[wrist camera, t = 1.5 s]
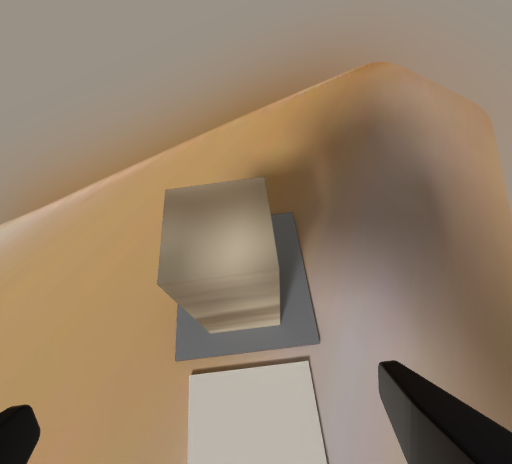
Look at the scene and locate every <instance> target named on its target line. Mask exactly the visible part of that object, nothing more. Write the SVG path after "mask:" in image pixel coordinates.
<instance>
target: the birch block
mask: <svg viewBox="0 0 512 464" xmlns="http://www.w3.org/2000/svg"><path fill="white" fill-rule="evenodd" d="M157 285H158V286H159V287H160V288H161V289H163V290H164V291H165V292H166V293H167V294H168V295H169V296H170V297H171V298H172V299H173V300H175V301H176V302H177V303H178V304H179V305H180V306H181V307H182V308H183V309H184V310H185V311H187V312H188V313H189V314H190V315H191V316H192V317H193V318H194V319H195V320H196V321H197V322H199V323H200V324H201V325H202V326H203V327H204V328H205V329H206V330H207V331H208V332H209V333H210V334H212V333H220V332H228V331H236V330H244V329H253V328H261V327H269V326H277V325H280V282H279V264H278V258H277V252H276V245H275V239H274V233H273V226H272V220H271V214H270V207H269V201H268V195H267V188H266V182H265V177H258V178H250V179H243V180H235V181H228V182H220V183H213V184H205V185H197V186H190V187H182V188H175V189H167V190H165V199H164V211H163V222H162V234H161V246H160V257H159V269H158V280H157Z"/></svg>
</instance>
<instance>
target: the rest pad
mask: <svg viewBox="0 0 512 464" xmlns="http://www.w3.org/2000/svg"><path fill="white" fill-rule="evenodd" d="M188 464H327V461H326V455H325V450H324V444H323V439H322V433H321V428H320V422H319V417H318V411H317V406H316V400H315V395H314V389H313V384H312V379H311V373H310V368H309V362H308V361H303V362H295V363H286V364H278V365H270V366H262V367H254V368H245V369H237V370H229V371H221V372H213V373H204V374H196V375H189V414H188Z"/></svg>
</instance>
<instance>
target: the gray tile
mask: <svg viewBox="0 0 512 464" xmlns="http://www.w3.org/2000/svg"><path fill="white" fill-rule="evenodd" d="M271 220H272V226H273V233H274V239H275V245H276V252H277V258H278V264H279V282H280V325H277V326H269V327H261V328H253V329H244V330H236V331H228V332H220V333H212V334H210V333H209V332H208V331H207V330H206V329H205V328H204V327H203V326H202V325H201V324H200V323H199V322H197V321H196V320H195V319H194V318H193V317H192V316H191V315H190V314H189V313H188V312H187V311H185V310H184V309H183V308H182V307H181V306H180V305H179V304H178V309H177V331H176V354H175V361H184V360H192V359H200V358H208V357H216V356H224V355H232V354H241V353H249V352H257V351H265V350H273V349H281V348H290V347H298V346H306V345H314V344H320V341H319V336H318V332H317V327H316V322H315V317H314V313H313V308H312V303H311V298H310V293H309V289H308V284H307V279H306V274H305V270H304V265H303V260H302V255H301V250H300V246H299V241H298V236H297V231H296V226H295V222H294V217H293V212H290V213H282V214H274V215H271Z"/></svg>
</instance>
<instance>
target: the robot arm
mask: <svg viewBox="0 0 512 464" xmlns="http://www.w3.org/2000/svg"><path fill="white" fill-rule="evenodd" d="M378 379H379V393H380V397H381V400H382V402H383V405H384V407H385V410H386V412H387V415H388V417H389V419H390V422H391V424H392V427H393V429H394V432H395V434H396V436H397V439H398V441H399V444H400V446H401V449H402V451H403V453H404V456H405V458H406V461H407V463H408V464H512V432H510V431H509V430H507V429H506V428H504V427H502V426H501V425H499V424H498V423H496V422H494V421H493V420H491V419H489V418H488V417H486V416H485V415H483V414H481V413H480V412H478V411H477V410H475V409H473V408H472V407H470V406H469V405H467V404H465V403H464V402H462V401H460V400H459V399H457V398H456V397H454V396H452V395H451V394H449V393H448V392H446V391H444V390H443V389H441V388H440V387H438V386H436V385H435V384H433V383H432V382H430V381H428V380H427V379H425V378H423V377H422V376H420V375H419V374H417V373H415V372H414V371H412V370H411V369H409V368H407V367H406V366H404V365H403V364H401V363H399V362H397V361H394V360H392V361H384V362H380V363H379V366H378ZM39 437H40V427H39V425H38V422H37V419H36V417H35V414H34V412H33V409H32V408H31V406H29V405H18V406H12V407H9V408H7V409H6V410H4V411H3V412H1V413H0V464H27V462H28V460H29V458H30V456H31V454H32V452H33V450H34V448H35V446H36V444H37V442H38V440H39Z"/></svg>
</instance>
